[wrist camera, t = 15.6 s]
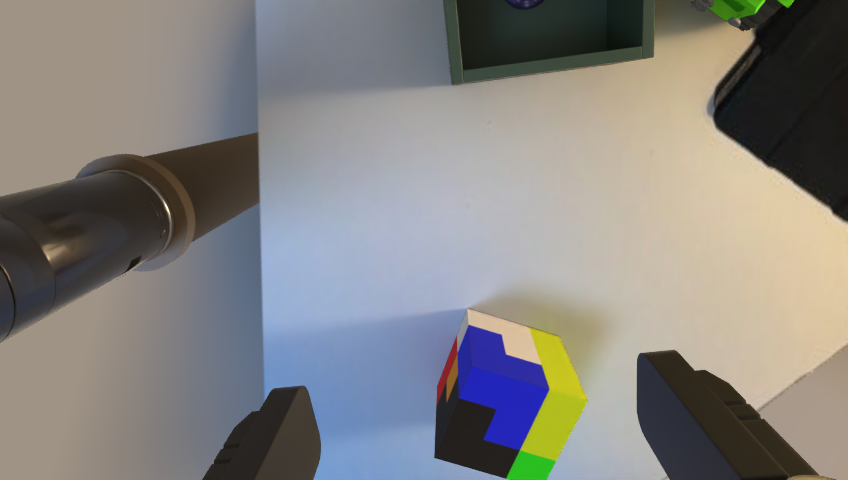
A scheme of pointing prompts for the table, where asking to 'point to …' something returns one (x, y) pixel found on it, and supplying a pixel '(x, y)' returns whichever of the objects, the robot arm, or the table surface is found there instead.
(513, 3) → the toy lamp
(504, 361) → the puzzle toy
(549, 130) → the table surface
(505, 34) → the bin
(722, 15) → the toy tractor
